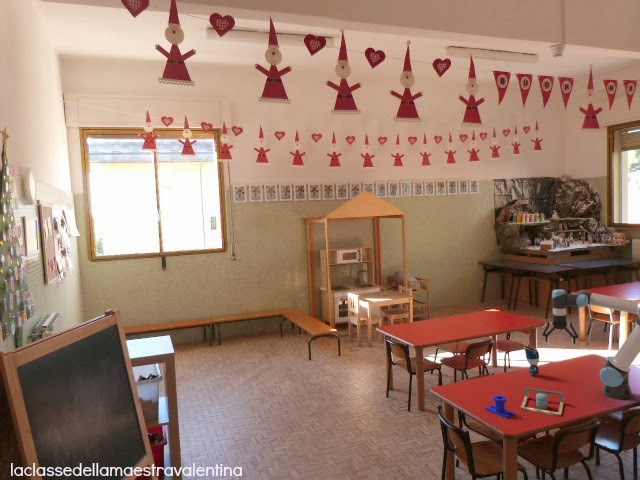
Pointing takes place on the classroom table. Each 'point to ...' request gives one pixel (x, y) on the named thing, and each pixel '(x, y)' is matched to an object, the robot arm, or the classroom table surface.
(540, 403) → the grooved blue cylinder
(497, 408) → the mount
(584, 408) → the classroom table surface
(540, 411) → the shelf frame
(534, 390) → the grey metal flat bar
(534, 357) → the figurine
